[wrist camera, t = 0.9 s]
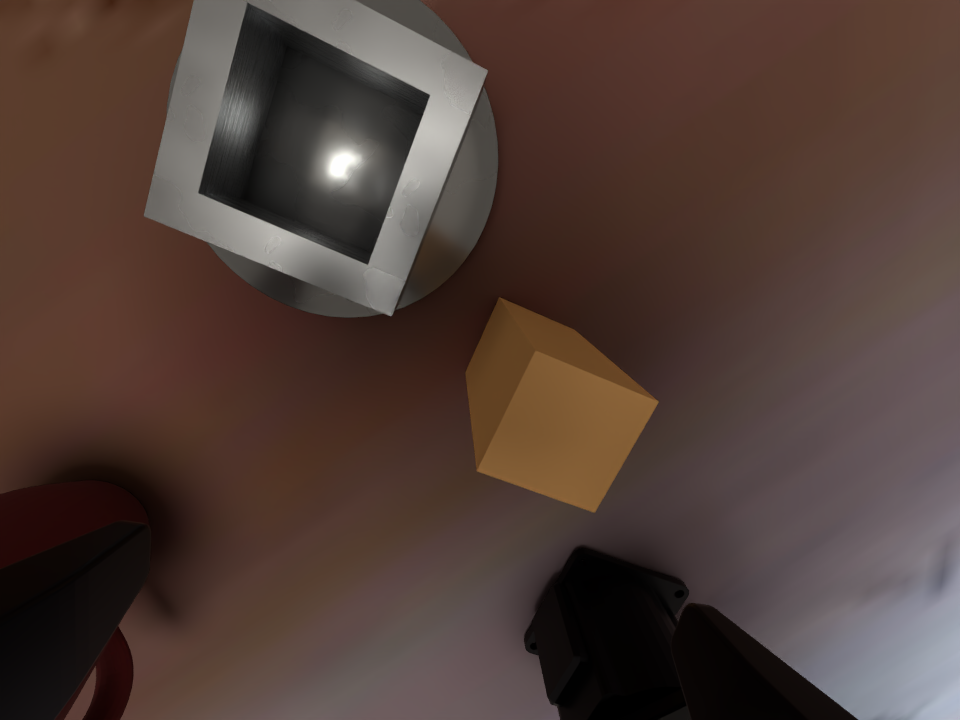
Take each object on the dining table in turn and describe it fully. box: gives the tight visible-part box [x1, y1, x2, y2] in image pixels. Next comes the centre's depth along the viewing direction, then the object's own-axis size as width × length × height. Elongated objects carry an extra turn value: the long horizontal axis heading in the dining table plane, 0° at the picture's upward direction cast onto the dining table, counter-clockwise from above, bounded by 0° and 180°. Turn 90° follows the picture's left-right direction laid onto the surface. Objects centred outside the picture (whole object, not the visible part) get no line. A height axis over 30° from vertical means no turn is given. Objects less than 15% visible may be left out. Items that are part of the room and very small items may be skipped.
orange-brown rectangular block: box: [465, 297, 659, 513], centre depth 15 cm, size 4×4×8 cm
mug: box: [0, 480, 149, 720], centre depth 16 cm, size 11×8×10 cm
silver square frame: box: [144, 0, 498, 318], centre depth 15 cm, size 11×11×4 cm
